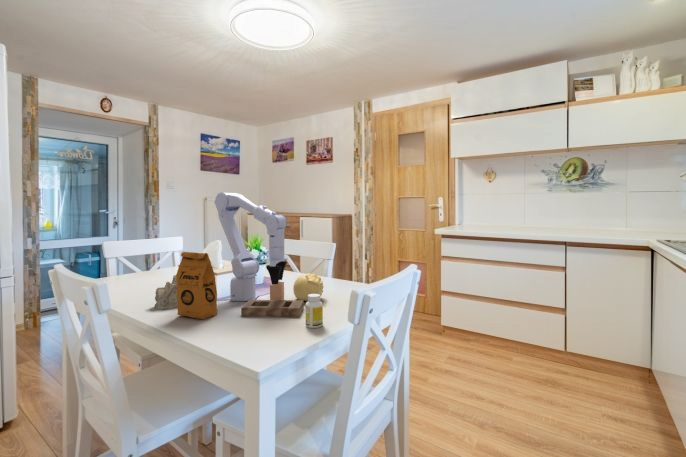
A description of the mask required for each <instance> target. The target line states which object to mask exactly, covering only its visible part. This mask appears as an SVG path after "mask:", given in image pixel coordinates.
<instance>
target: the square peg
mask: <svg viewBox="0 0 686 457" xmlns="http://www.w3.org/2000/svg"><path fill="white" fill-rule="evenodd" d="M269 300H285V281H278V284H272V282H270V284H269Z"/></svg>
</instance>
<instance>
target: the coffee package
mask: <svg viewBox="0 0 686 457" xmlns="http://www.w3.org/2000/svg"><path fill="white" fill-rule="evenodd" d="M180 257H181V260H180V263H179V266H178V268H177V272H176V274H175V275H176V282H177V307H178V308H177V315H178V316H183V317H189V318H193V319H198V320H206V319H209V318H212V317H214V316H216V315H218V311H217V310H218V309H217V308H218V303H217V302H218V299H217V298H218V291H217V284H216V276H215V272H214V267H213V264H212V262H211V258H210V256H209V253H207V252H194V251H190V252H189V251H182V252H181V253H180Z"/></svg>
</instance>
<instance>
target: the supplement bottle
mask: <svg viewBox="0 0 686 457" xmlns="http://www.w3.org/2000/svg"><path fill="white" fill-rule="evenodd" d="M323 304H324V303H323V302H322V301H321V296H320V294H309V295H308V301H306V302H305V327H307V328H310V329H316V328H317V329H319V328H321V327H322V326H323V323H324V321H323V319H324V317H323V314H324V313H323V312H324V311H323V309H324V308H323V307H324V306H323Z"/></svg>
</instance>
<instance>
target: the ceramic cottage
mask: <svg viewBox="0 0 686 457" xmlns="http://www.w3.org/2000/svg"><path fill="white" fill-rule="evenodd" d="M154 300H155V302H156V303H154V308H156V309H157V310H167V309H178V307H177V282H176V274H174V275H173V277H172V280H171V282H170V281H166V282H165V285H164V287H157V288H156V289H155V296H154Z"/></svg>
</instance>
